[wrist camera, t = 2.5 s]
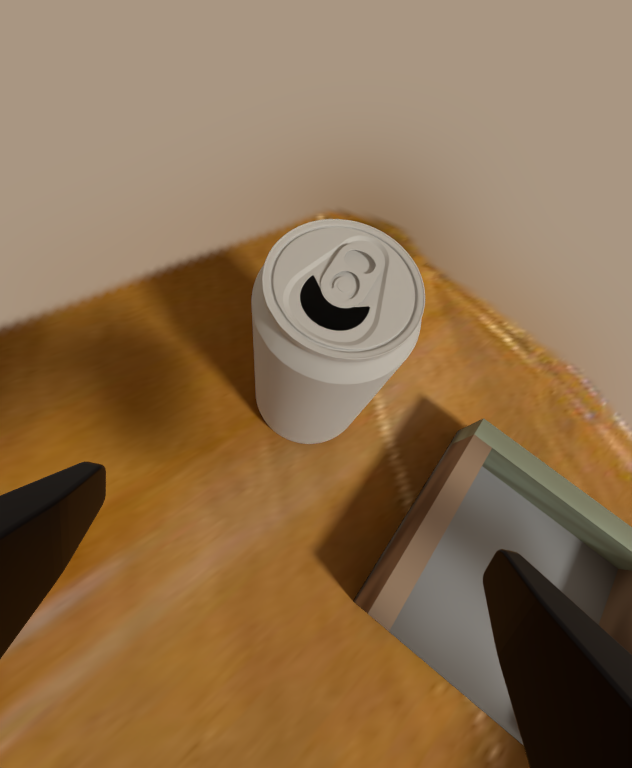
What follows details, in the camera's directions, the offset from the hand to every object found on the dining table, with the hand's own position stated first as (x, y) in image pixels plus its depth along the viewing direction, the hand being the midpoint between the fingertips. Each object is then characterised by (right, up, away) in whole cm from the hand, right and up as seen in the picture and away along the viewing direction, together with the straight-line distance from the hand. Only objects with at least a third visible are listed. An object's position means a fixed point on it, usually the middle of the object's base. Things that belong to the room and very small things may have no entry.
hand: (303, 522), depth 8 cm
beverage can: (0, +2, +15) cm, 16 cm away
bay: (+11, -8, +13) cm, 19 cm away
